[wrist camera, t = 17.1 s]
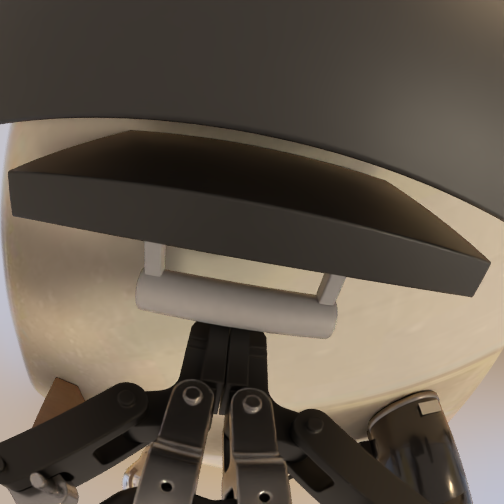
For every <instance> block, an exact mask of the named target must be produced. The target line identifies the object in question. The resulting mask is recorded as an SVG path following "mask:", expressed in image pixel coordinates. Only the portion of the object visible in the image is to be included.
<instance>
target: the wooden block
mask: <svg viewBox="0 0 504 504" xmlns="http://www.w3.org/2000/svg"><path fill="white" fill-rule="evenodd" d="M83 402H85V401H84V399H83V397H82V395H81V393H80V390H79V388H78V387H77V386H76V385H73V384H71V383H69V382H66V381H64V380H62V379H59V378H57V377H56V378H55V380H54V382H53V384H52V386H51V388H50V390H49V392H48V394H47V396H46V398H45V400H44V403H43V405H42V407H41V409H40V411H39V413H38V415H37V418H36V420H35V422H34V425H33V427H35V426H37V425H39V424H42V423H44V422H46V421H48V420H50V419H52V418H54V417H56V416H58V415H60V414H62V413H64V412H66V411H68V410H69V409H71V408H73V407H75V406H77V405H79V404H81V403H83ZM33 427H32V428H33Z"/></svg>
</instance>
